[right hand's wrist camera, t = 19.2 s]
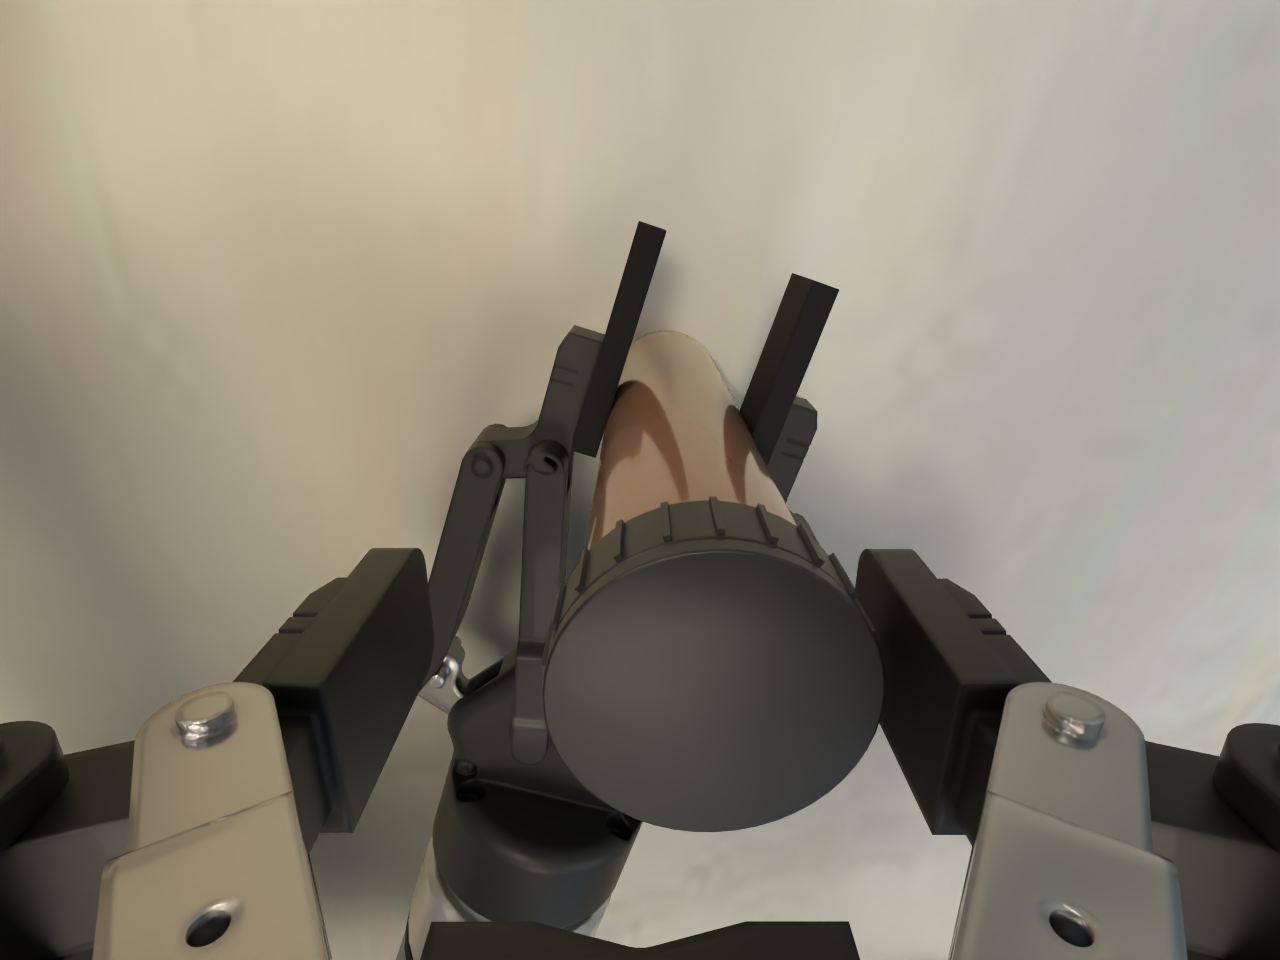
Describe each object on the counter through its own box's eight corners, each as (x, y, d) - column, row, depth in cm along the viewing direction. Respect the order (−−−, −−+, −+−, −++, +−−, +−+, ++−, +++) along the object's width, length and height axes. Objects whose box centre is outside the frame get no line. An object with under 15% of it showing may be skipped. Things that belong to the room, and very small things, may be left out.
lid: (756, 793, 12) (773, 878, 10) (502, 689, 11) (481, 765, 10) (916, 577, 10) (964, 639, 9) (636, 439, 10) (635, 482, 8)
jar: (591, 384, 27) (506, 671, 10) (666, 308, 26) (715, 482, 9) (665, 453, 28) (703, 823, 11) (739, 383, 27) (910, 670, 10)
